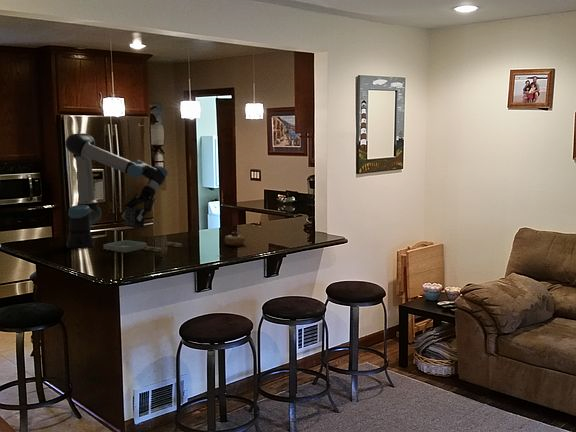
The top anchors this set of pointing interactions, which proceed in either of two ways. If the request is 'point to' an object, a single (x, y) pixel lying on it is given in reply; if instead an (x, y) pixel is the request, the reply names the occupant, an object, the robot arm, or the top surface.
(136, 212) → the small box
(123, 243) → the tray
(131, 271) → the top surface
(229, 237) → the pumpkin
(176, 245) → the oak cradle
